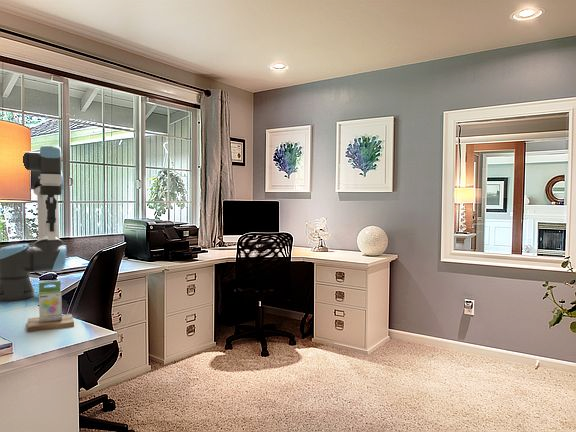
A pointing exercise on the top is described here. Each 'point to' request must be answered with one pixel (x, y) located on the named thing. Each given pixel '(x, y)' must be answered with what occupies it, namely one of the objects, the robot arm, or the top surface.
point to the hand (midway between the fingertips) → (51, 238)
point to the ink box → (50, 302)
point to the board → (50, 323)
